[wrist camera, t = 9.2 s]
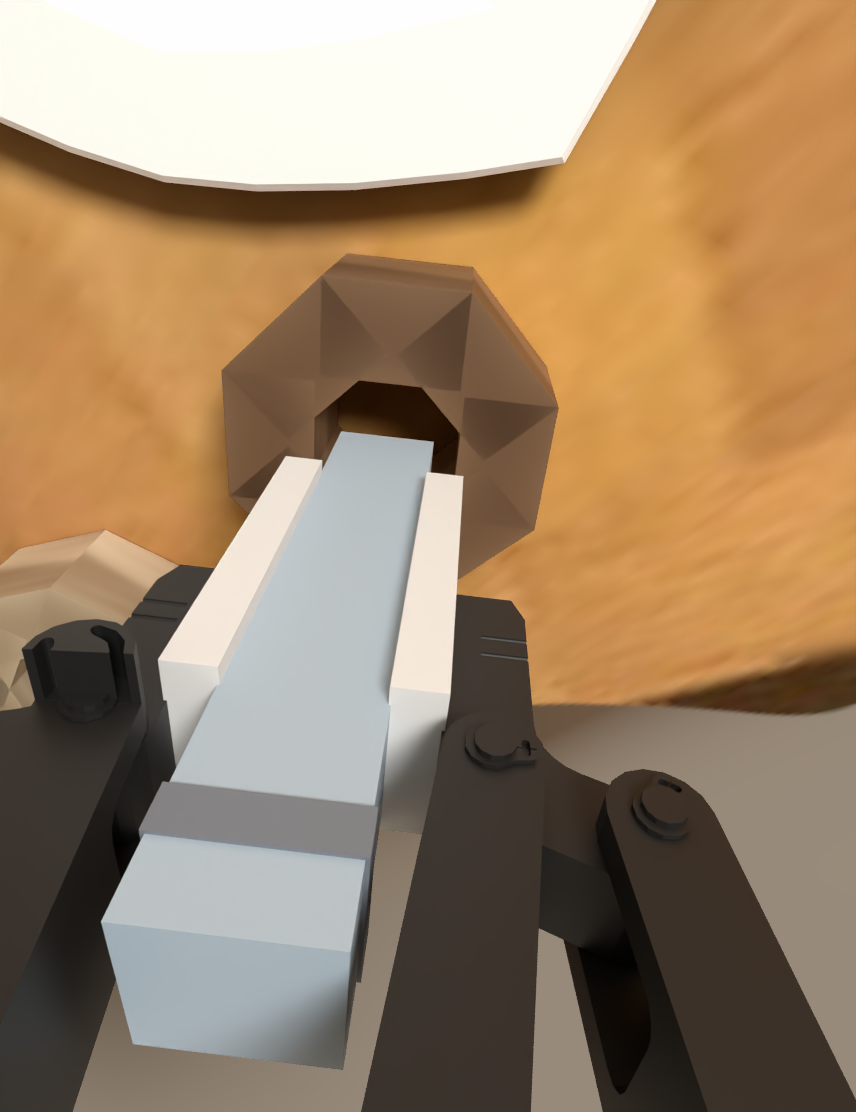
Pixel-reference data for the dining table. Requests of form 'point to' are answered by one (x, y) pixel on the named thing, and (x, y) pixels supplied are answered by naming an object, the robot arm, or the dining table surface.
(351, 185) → the plate
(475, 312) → the walnut bead
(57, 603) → the maple bead
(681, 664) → the dining table surface
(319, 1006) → the long pale blue brick
